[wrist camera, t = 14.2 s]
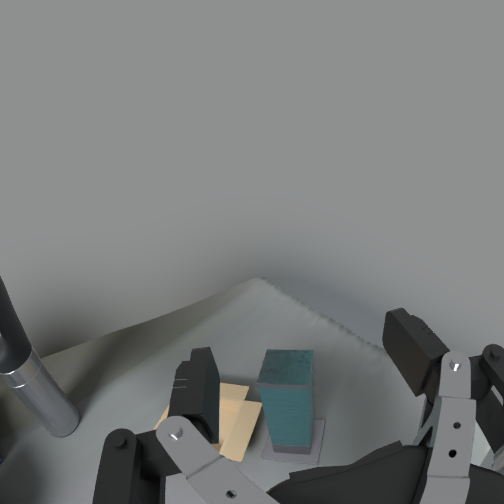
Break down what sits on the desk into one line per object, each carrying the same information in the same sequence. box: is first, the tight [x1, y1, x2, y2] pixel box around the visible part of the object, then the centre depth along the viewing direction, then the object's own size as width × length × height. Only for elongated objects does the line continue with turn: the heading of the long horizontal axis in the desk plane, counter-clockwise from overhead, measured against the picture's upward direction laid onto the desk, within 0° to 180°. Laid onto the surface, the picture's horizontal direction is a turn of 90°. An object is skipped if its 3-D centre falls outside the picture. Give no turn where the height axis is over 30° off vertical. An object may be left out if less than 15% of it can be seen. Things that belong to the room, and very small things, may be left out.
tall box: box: [256, 349, 314, 455], centre depth 29 cm, size 5×5×17 cm
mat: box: [261, 419, 325, 464], centre depth 32 cm, size 8×8×1 cm
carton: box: [153, 382, 262, 462], centre depth 35 cm, size 15×17×4 cm
